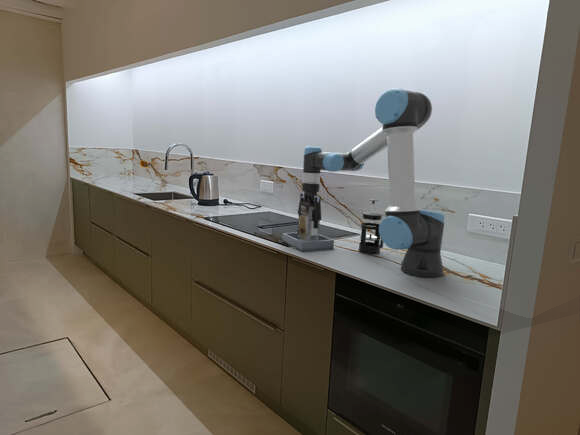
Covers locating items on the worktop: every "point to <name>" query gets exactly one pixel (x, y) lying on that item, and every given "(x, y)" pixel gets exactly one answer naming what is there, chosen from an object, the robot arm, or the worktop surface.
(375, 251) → the french press
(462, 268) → the worktop surface
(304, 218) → the coffee box
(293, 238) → the bin
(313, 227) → the robot arm
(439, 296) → the worktop surface
